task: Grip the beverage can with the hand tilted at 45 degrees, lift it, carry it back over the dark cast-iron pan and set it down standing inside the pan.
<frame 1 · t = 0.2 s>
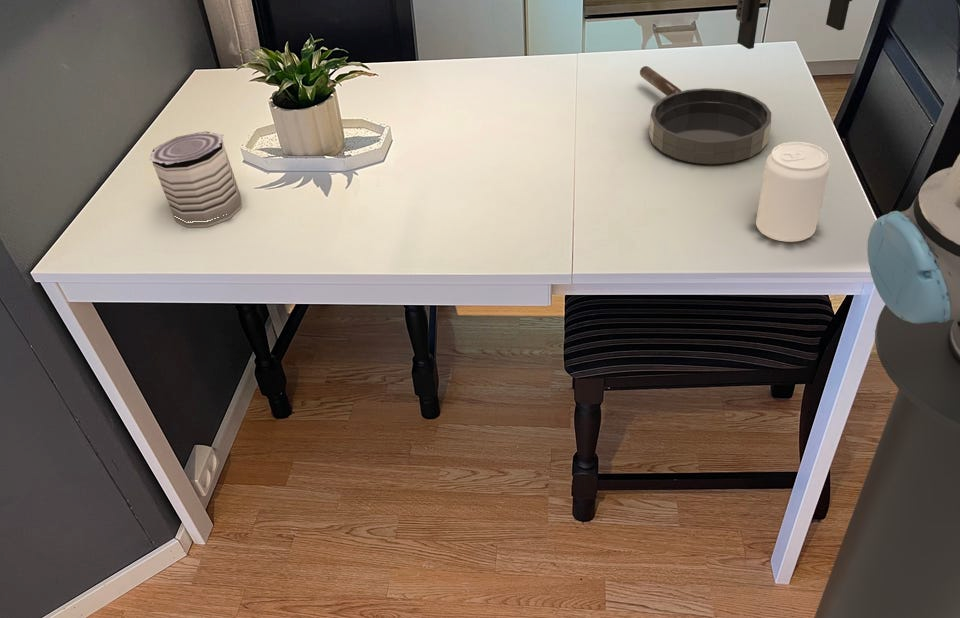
hand: (790, 36, 105), 24 cm above the table, tool pointing down, fingers open, 13 cm apart
beverage can: (784, 229, 113), on the table
pan: (707, 137, 135), on the table
can: (209, 210, 131), on the table
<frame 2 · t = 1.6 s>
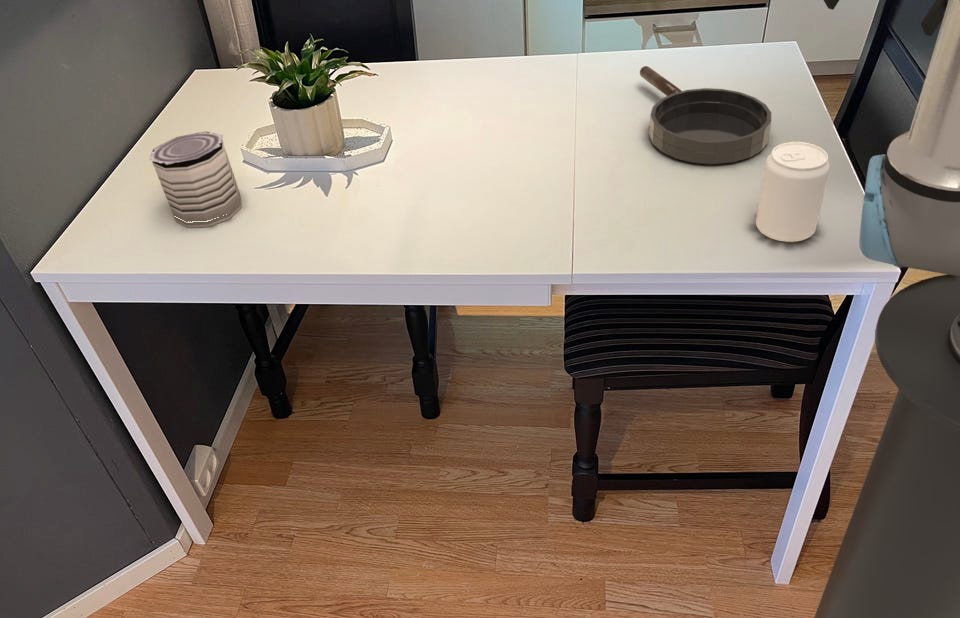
hand: (874, 16, 100), 27 cm above the table, tool tilted 45°, fingers open, 13 cm apart
nothing on the table moved.
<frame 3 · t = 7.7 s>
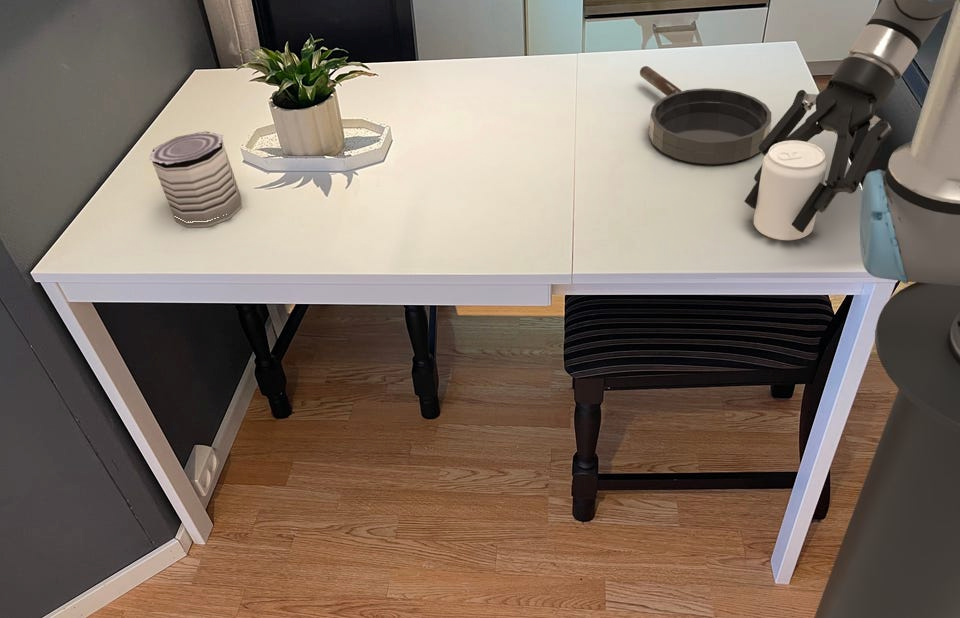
hand: (773, 216, 109), 4 cm above the table, tool tilted 45°, fingers closed on beverage can, 7 cm apart
beverage can: (782, 228, 113), on the table, touching gripper
everything else where it was.
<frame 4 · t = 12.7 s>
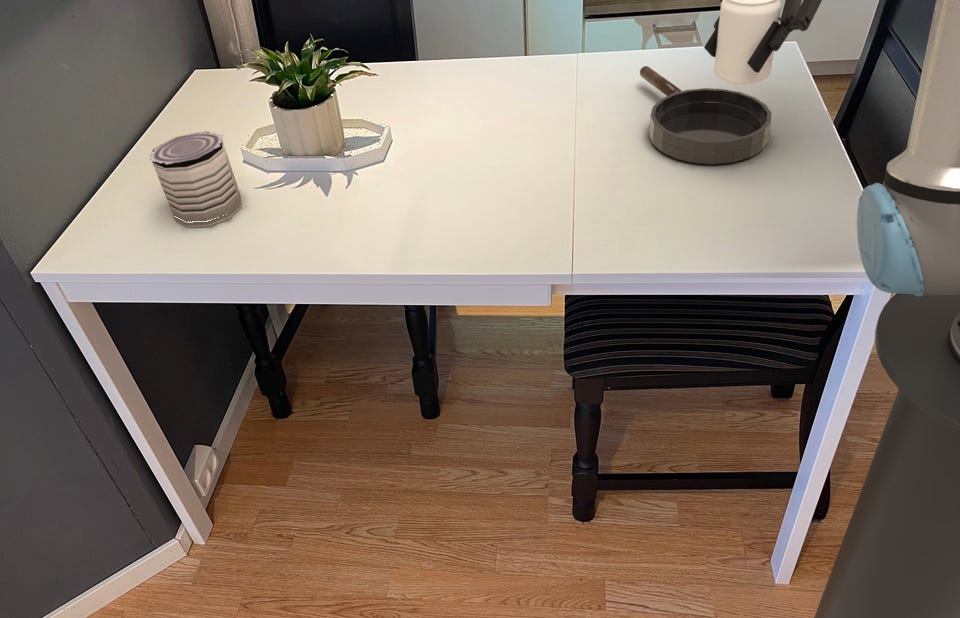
hand: (730, 59, 114), 19 cm above the table, tool tilted 45°, fingers closed on beverage can, 7 cm apart
beverage can: (741, 76, 118), point 15 cm above the table, touching gripper
everything else where it was.
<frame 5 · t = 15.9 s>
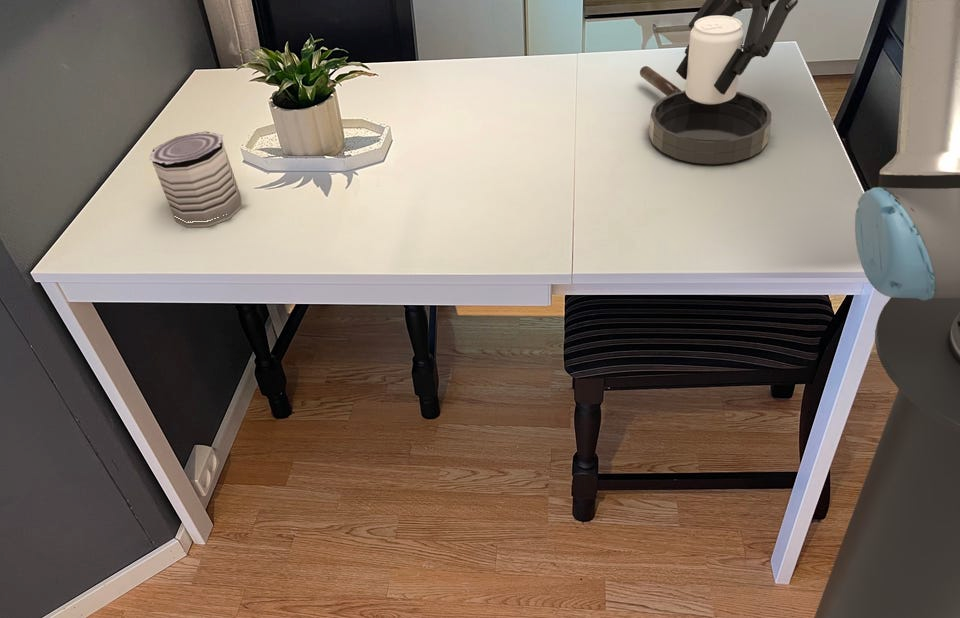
hand: (699, 82, 126), 11 cm above the table, tool tilted 45°, fingers closed on beverage can, 7 cm apart
beverage can: (710, 97, 130), point 7 cm above the table, touching gripper
everything else where it was.
when the fingers open (4 cm above the table, at t = 18.2 s): beverage can stays where it is, resting on pan.
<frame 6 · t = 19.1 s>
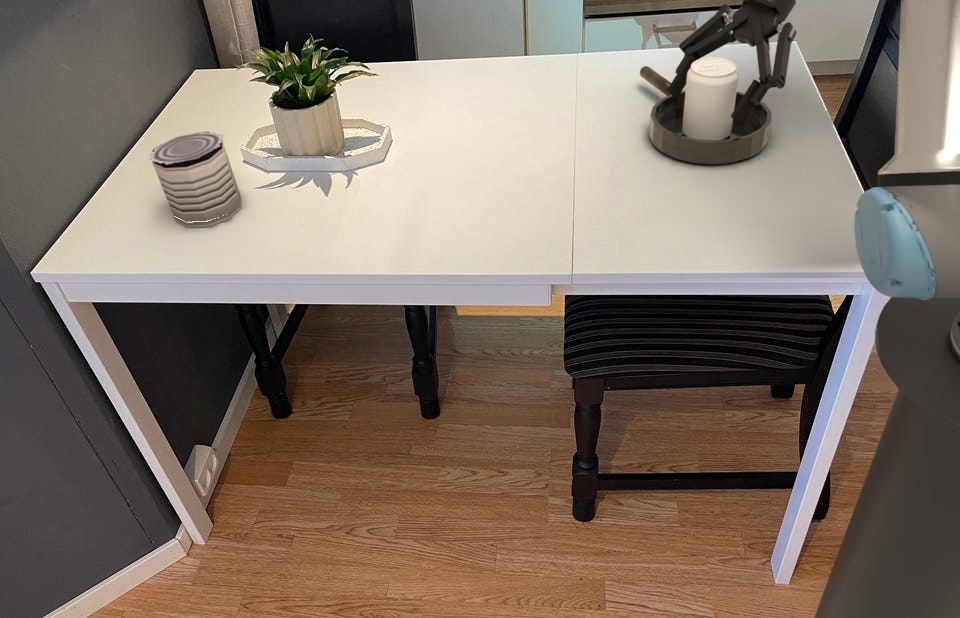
hand: (702, 107, 130), 6 cm above the table, tool tilted 45°, fingers open, 13 cm apart
beverage can: (706, 134, 135), resting on pan
everything else where it was.
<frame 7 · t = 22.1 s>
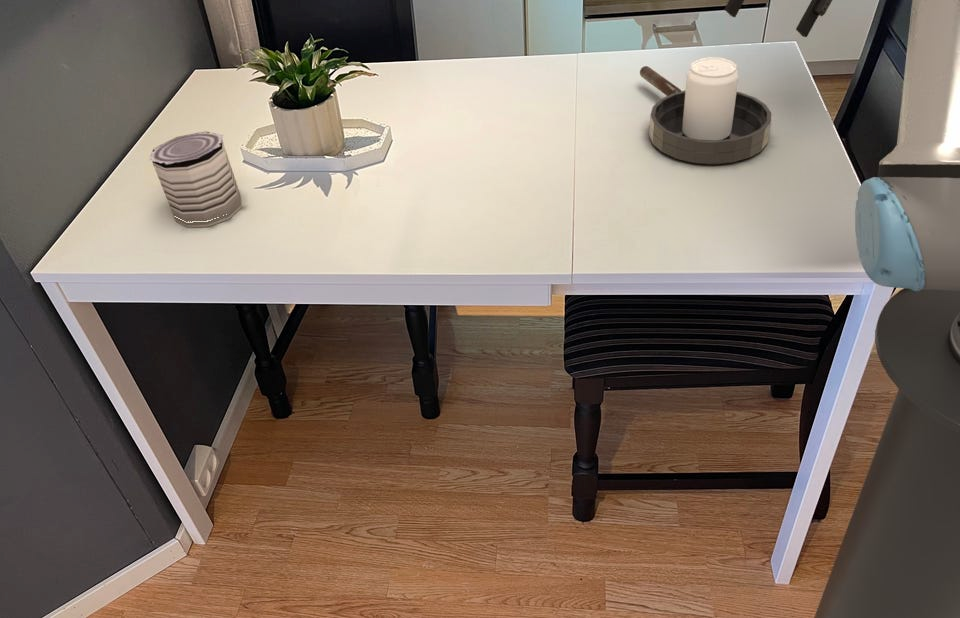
hand: (764, 23, 125), 18 cm above the table, tool tilted 40°, fingers open, 13 cm apart
nothing on the table moved.
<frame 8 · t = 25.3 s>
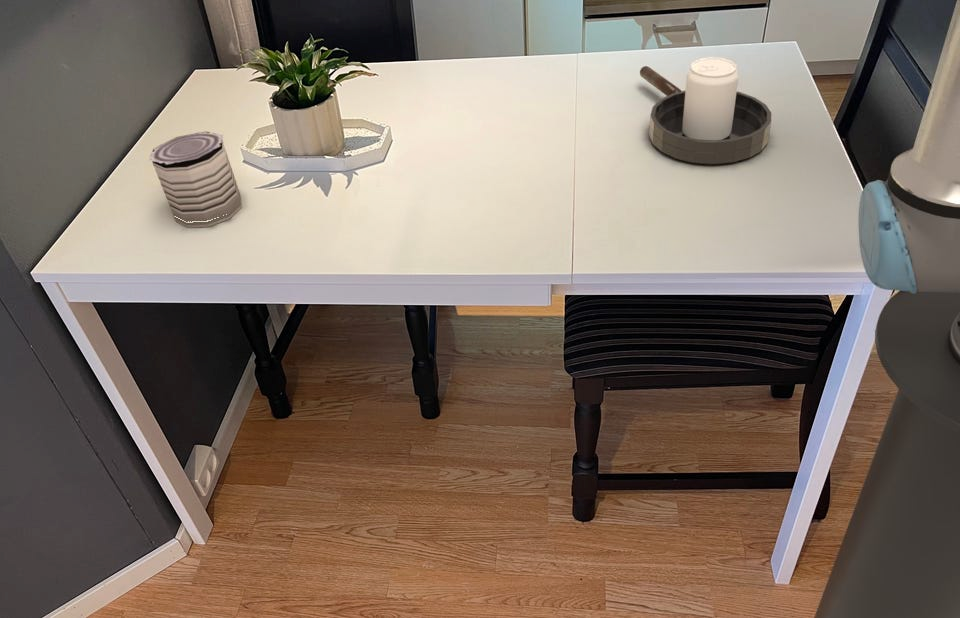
nothing on the table moved.
at the end: beverage can inside the target area in the pan (0.5 cm from its centre), point 0.4 cm above the pan's base; beverage can tilted 0°; the gripper is holding nothing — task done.
